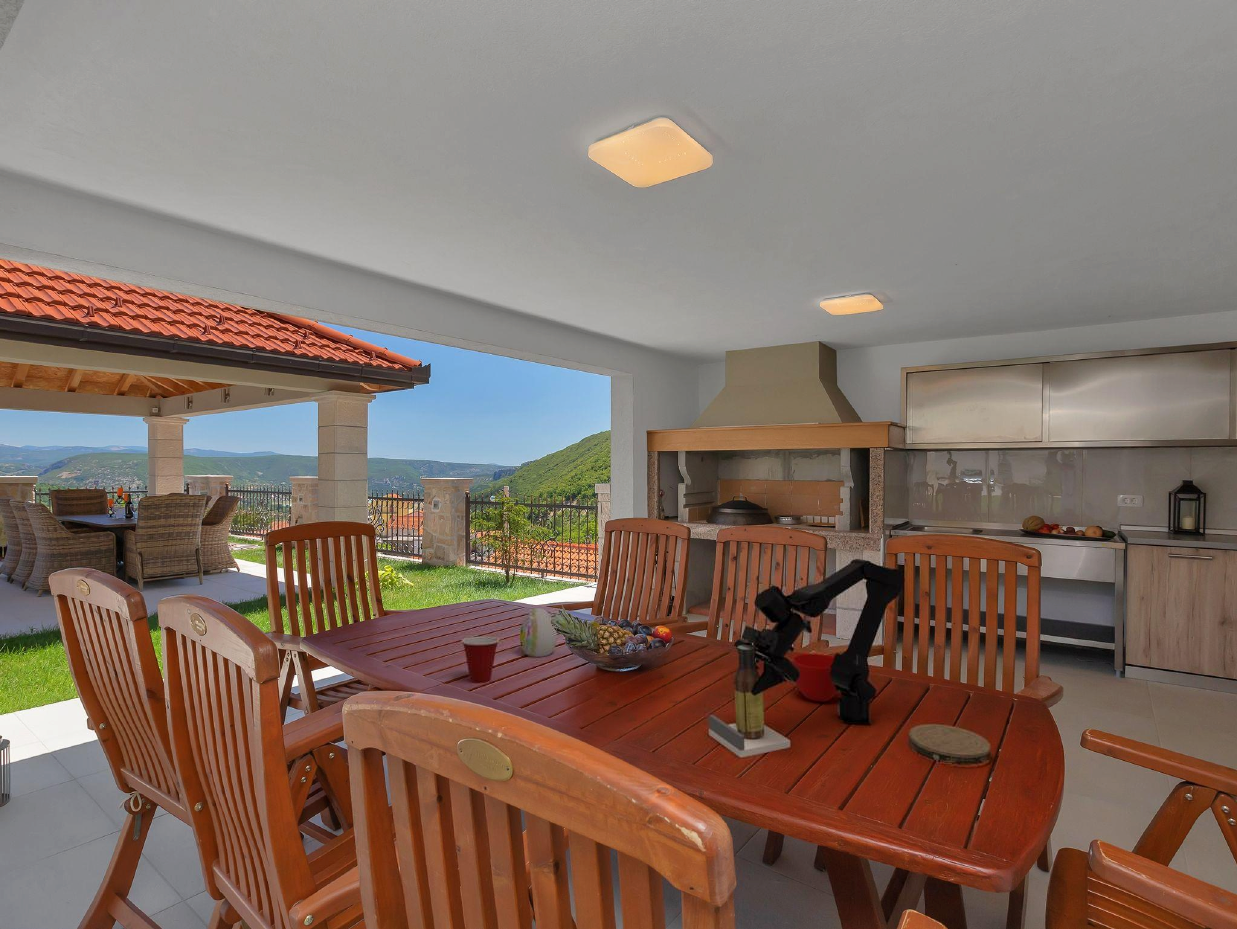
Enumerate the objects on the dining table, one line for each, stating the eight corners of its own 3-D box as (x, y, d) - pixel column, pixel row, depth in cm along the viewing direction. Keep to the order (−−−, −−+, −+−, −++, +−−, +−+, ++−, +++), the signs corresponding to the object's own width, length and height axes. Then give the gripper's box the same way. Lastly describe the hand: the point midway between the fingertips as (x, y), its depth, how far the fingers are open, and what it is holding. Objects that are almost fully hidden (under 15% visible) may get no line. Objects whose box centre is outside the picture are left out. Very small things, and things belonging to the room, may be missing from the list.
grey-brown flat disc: (919, 731, 154) (919, 718, 154) (996, 749, 144) (996, 736, 144) (900, 755, 141) (900, 741, 141) (982, 777, 131) (982, 762, 131)
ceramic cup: (862, 709, 167) (862, 670, 167) (794, 704, 170) (794, 666, 170) (854, 692, 179) (854, 655, 179) (791, 687, 183) (791, 652, 183)
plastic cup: (504, 674, 195) (504, 634, 195) (493, 686, 185) (493, 644, 185) (468, 673, 196) (468, 633, 196) (456, 685, 186) (456, 643, 186)
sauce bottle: (767, 732, 149) (767, 645, 149) (759, 742, 143) (758, 652, 143) (740, 726, 152) (739, 641, 152) (731, 736, 147) (730, 648, 147)
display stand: (755, 725, 156) (755, 706, 156) (790, 747, 144) (790, 727, 144) (708, 734, 151) (708, 715, 151) (740, 757, 139) (740, 736, 139)
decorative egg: (517, 650, 220) (517, 605, 220) (552, 647, 224) (552, 603, 224) (523, 660, 209) (523, 613, 209) (560, 657, 212) (560, 611, 212)
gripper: (739, 605, 158) (700, 656, 154) (788, 622, 141) (745, 680, 136) (766, 633, 161) (729, 684, 157) (817, 654, 144) (777, 712, 140)
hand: (743, 689), depth 147 cm, fingers open, 6 cm apart
